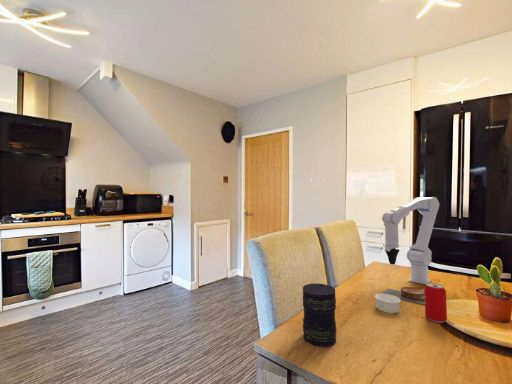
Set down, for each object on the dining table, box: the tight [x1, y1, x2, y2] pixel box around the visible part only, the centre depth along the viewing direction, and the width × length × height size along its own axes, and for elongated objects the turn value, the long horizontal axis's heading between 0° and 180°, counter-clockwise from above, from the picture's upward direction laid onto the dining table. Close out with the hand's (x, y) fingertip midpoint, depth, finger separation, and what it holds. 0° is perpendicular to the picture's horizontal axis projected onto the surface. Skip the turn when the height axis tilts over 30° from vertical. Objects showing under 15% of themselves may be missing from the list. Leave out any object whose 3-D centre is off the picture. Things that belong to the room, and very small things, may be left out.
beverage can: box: [423, 282, 448, 324], centre depth 88 cm, size 6×6×12 cm
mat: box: [380, 288, 425, 306], centre depth 109 cm, size 10×20×1 cm, turn 46°
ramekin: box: [374, 293, 402, 314], centre depth 97 cm, size 9×9×4 cm
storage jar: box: [302, 283, 337, 349], centre depth 77 cm, size 10×10×15 cm
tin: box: [400, 286, 425, 300], centre depth 109 cm, size 15×3×8 cm
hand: (392, 263), depth 125 cm, fingers closed
